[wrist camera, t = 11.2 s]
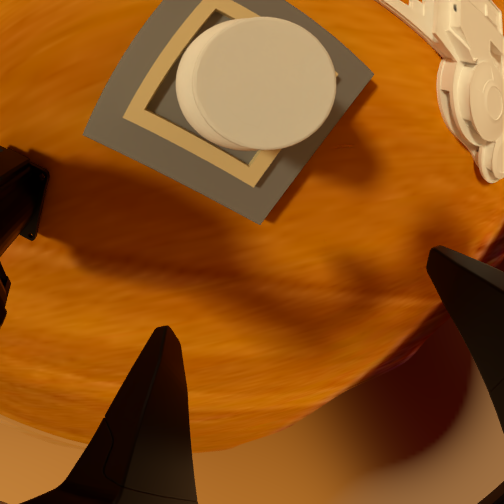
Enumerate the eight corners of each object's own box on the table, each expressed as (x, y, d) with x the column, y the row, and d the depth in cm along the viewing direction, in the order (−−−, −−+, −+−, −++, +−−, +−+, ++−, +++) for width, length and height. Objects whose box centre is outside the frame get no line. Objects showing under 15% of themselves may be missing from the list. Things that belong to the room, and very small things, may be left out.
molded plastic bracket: (508, 20, 10) (532, 24, 6) (485, 180, 23) (510, 195, 20) (371, -89, 5) (396, -103, 1) (341, 119, 18) (372, 130, 14)
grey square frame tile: (256, 215, 21) (261, 229, 19) (91, 130, 15) (79, 136, 13) (363, 74, 16) (379, 74, 14) (202, -33, 10) (203, -45, 8)
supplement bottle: (190, 133, 15) (176, 186, 7) (181, 50, 12) (154, 2, 4) (277, 124, 16) (356, 168, 8) (273, 43, 13) (354, 3, 5)
